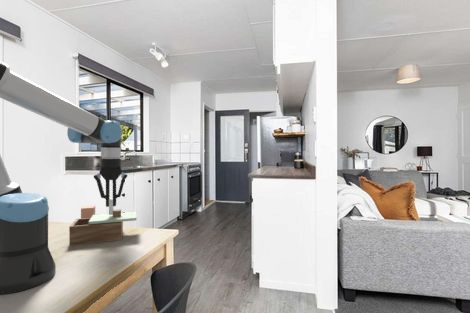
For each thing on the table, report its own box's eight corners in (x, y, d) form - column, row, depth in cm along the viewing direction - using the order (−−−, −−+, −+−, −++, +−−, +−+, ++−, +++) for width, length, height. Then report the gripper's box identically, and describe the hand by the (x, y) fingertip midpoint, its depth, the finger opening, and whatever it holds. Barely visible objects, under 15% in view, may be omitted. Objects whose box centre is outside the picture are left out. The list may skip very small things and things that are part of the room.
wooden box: (121, 239, 103) (121, 222, 103) (69, 245, 96) (69, 226, 96) (122, 230, 114) (122, 215, 114) (76, 235, 108) (76, 218, 107)
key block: (93, 229, 116) (93, 207, 116) (80, 230, 114) (80, 208, 114) (95, 226, 120) (95, 205, 120) (83, 227, 119) (83, 206, 118)
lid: (136, 220, 105) (136, 211, 105) (88, 224, 99) (88, 215, 99) (136, 213, 116) (136, 206, 116) (93, 217, 109) (93, 209, 109)
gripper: (128, 157, 112) (128, 210, 113) (94, 157, 107) (94, 213, 108) (127, 158, 105) (127, 214, 106) (91, 158, 101) (92, 217, 101)
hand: (111, 214), depth 107 cm, fingers closed
